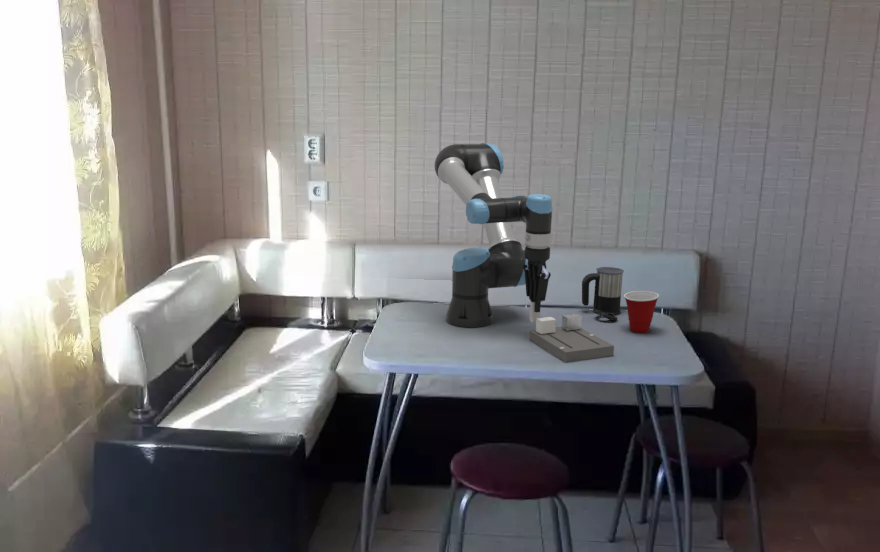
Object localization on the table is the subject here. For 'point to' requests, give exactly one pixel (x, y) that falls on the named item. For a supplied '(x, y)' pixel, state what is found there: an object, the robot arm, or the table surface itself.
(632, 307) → the plastic cup
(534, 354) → the table surface
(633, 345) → the table surface
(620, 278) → the milk frother
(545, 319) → the fader
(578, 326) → the fader
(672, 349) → the table surface
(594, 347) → the slider panel
